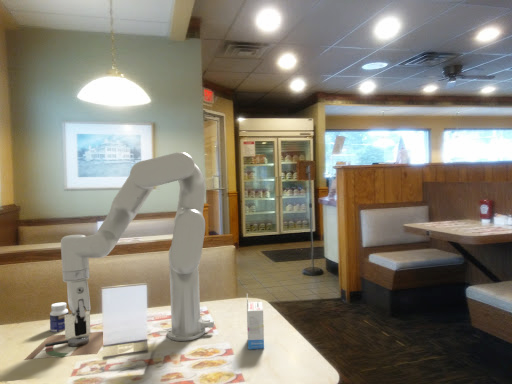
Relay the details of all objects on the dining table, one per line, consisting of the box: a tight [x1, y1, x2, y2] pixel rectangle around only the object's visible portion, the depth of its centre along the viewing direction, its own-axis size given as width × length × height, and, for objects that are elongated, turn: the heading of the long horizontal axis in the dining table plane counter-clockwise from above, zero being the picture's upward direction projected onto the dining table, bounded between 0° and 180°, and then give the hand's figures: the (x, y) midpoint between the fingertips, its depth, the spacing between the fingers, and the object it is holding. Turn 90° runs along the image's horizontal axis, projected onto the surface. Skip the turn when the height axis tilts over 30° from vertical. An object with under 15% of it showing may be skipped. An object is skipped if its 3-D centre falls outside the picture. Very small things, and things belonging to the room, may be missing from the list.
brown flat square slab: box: [23, 331, 104, 361], centre depth 115 cm, size 20×18×1 cm
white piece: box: [45, 310, 92, 347], centre depth 114 cm, size 12×6×9 cm, turn 114°
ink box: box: [246, 293, 265, 350], centre depth 114 cm, size 8×5×15 cm, turn 2°
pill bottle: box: [49, 301, 69, 333], centre depth 128 cm, size 6×6×10 cm
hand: (79, 332), depth 115 cm, fingers closed on white piece, 3 cm apart
